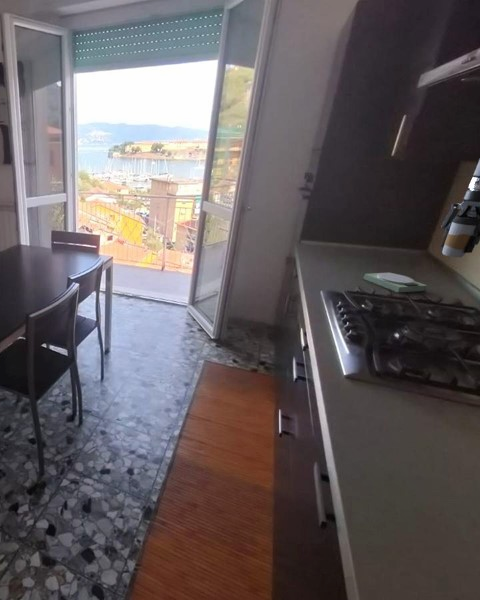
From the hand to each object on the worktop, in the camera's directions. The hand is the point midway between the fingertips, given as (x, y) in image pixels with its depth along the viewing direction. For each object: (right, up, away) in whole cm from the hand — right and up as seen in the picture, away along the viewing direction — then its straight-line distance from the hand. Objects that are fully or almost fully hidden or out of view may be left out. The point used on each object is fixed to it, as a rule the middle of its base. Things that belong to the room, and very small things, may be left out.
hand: (455, 249), depth 141 cm
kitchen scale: (-15, -13, +12) cm, 23 cm away
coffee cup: (0, -2, +1) cm, 2 cm away
